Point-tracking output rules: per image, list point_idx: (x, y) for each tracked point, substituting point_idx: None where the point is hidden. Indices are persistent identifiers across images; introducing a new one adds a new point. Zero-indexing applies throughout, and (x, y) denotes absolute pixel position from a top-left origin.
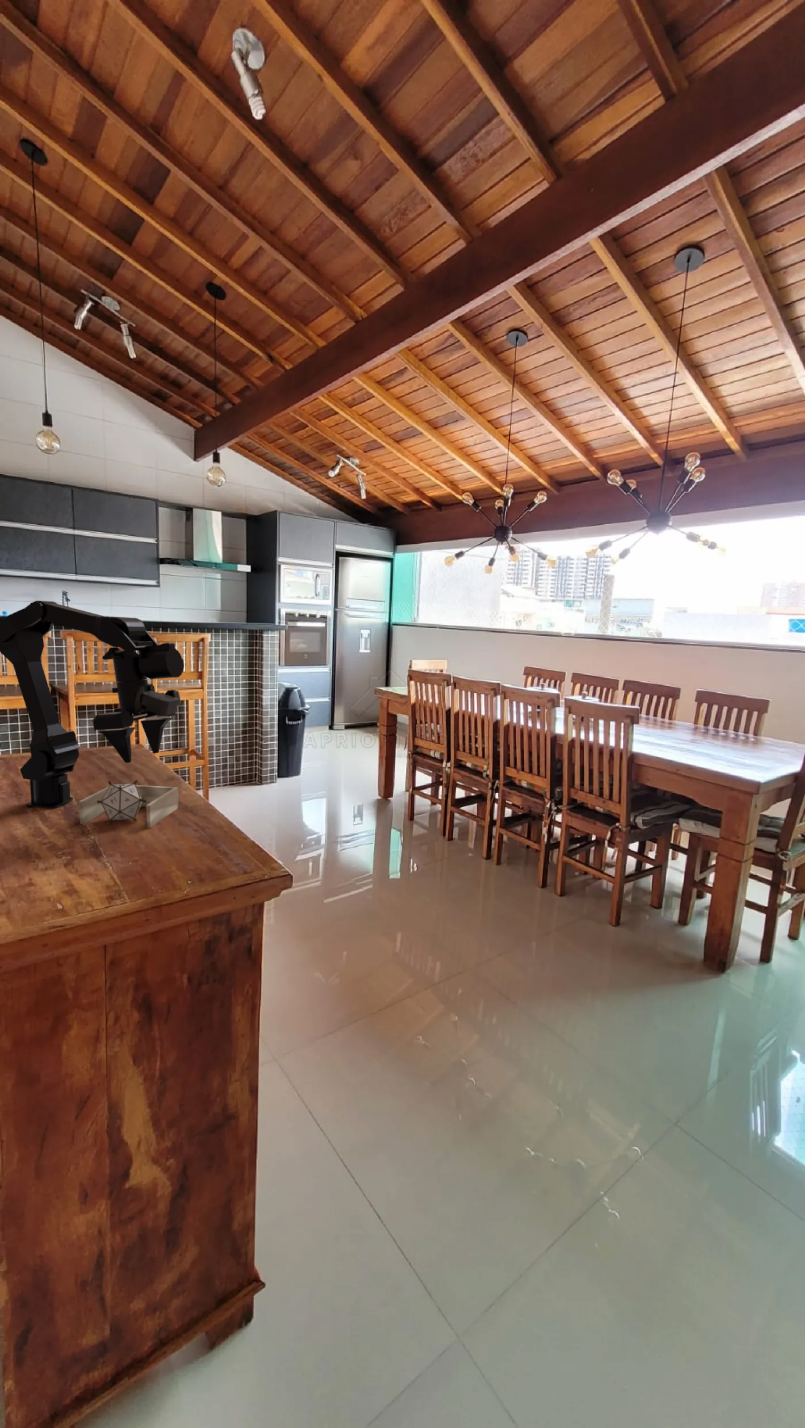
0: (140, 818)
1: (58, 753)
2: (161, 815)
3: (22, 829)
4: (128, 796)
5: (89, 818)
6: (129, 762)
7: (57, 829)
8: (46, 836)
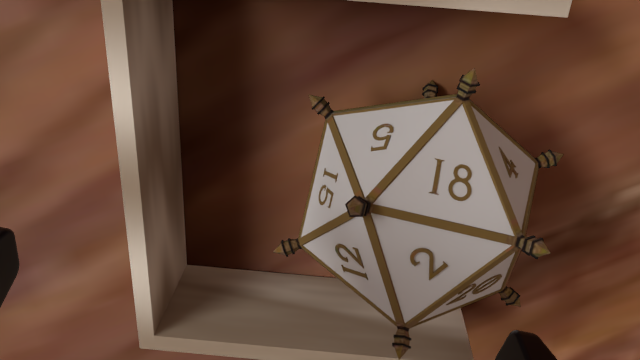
0: (365, 86)
1: None
2: None
3: None
4: (502, 170)
5: None
6: (530, 336)
7: None
8: (600, 347)
